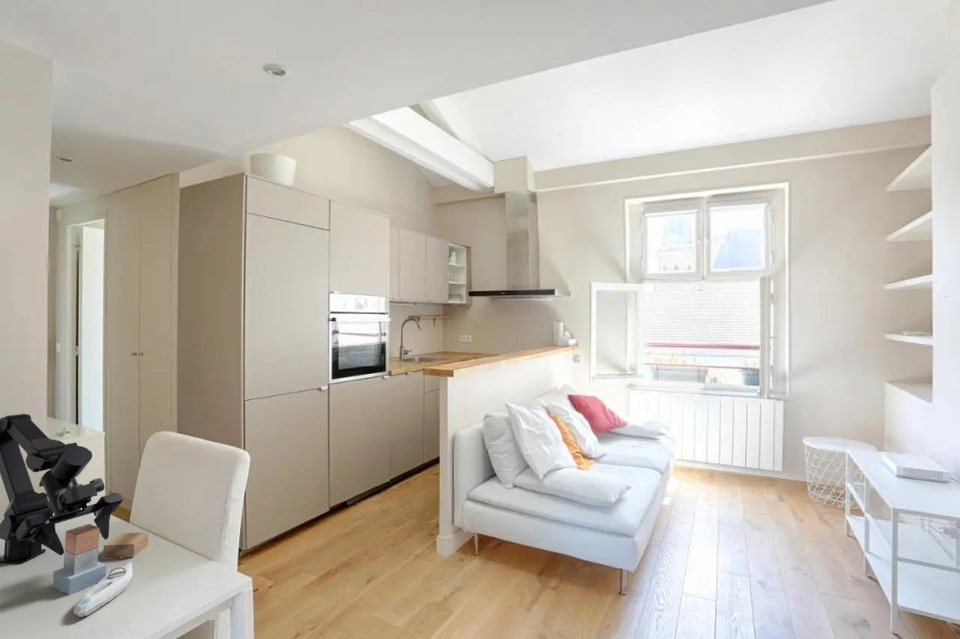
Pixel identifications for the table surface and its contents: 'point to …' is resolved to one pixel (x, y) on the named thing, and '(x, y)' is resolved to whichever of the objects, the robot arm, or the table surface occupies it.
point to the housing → (81, 549)
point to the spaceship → (104, 590)
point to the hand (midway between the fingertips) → (85, 546)
